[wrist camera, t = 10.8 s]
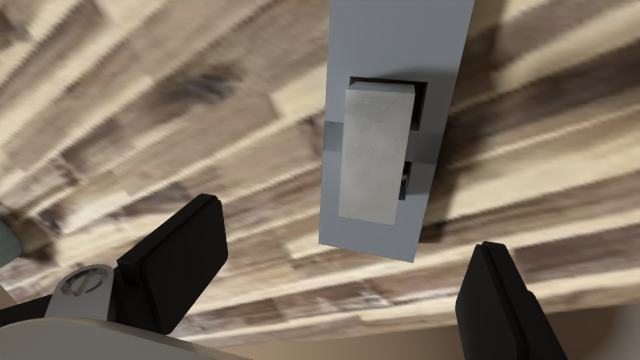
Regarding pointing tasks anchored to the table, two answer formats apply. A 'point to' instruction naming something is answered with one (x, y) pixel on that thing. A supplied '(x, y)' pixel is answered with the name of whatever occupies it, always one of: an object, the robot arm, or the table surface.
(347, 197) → the grey concrete brick
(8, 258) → the teal cup
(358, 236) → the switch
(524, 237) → the table surface
